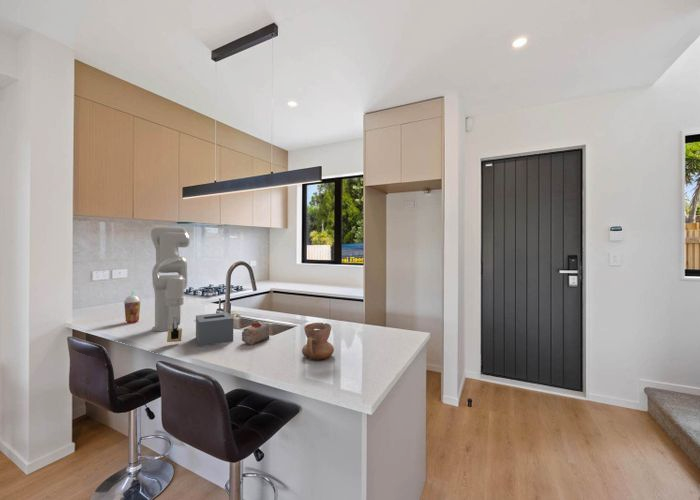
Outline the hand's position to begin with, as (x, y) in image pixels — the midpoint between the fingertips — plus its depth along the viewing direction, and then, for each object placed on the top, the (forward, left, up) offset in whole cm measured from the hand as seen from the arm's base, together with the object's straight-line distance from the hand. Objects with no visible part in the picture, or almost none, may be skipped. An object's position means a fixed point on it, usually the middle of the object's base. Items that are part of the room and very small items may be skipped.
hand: (174, 337), depth 150 cm
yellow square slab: (0, 0, -2) cm, 2 cm away
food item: (+16, +36, -4) cm, 40 cm away
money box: (+2, +18, -3) cm, 18 cm away
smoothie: (-60, -21, -4) cm, 64 cm away
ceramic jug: (+52, +54, -4) cm, 75 cm away
